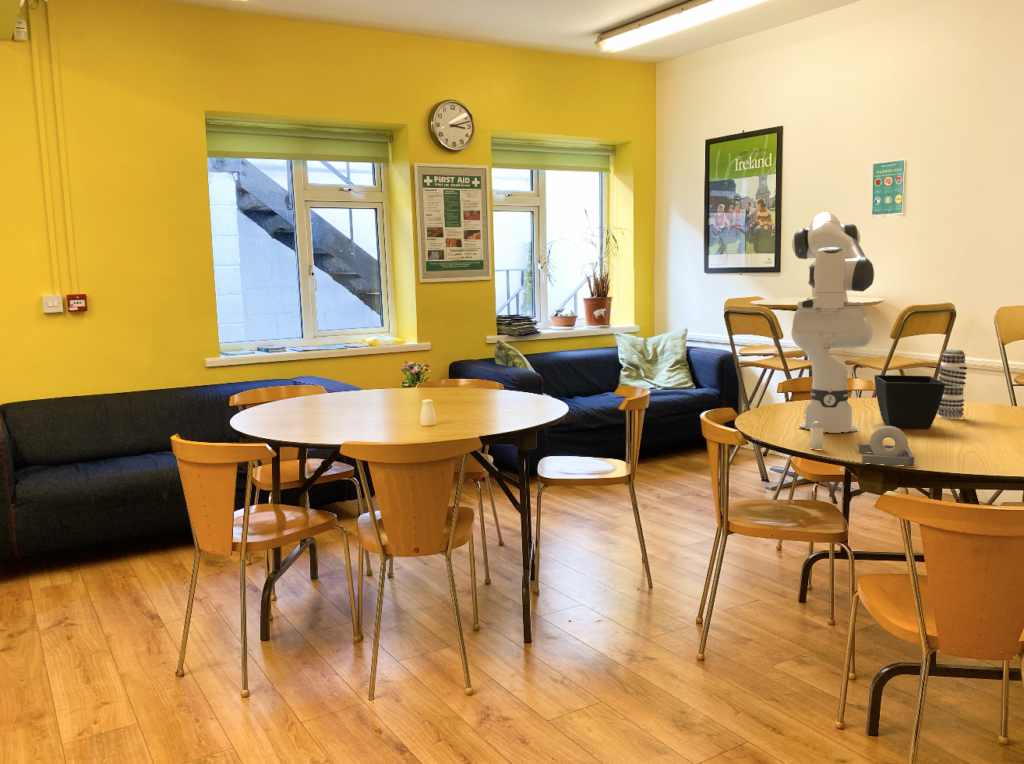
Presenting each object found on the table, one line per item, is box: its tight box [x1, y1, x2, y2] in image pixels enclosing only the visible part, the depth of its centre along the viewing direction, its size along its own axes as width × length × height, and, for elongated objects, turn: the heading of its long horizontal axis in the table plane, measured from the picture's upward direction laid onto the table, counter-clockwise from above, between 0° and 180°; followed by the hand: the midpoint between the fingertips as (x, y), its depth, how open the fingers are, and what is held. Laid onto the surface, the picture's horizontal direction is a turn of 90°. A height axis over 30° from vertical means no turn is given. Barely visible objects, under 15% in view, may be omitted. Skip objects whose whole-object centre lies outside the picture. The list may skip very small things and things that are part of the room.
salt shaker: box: [809, 421, 824, 450], centre depth 255 cm, size 4×4×9 cm
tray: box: [858, 443, 915, 466], centre depth 240 cm, size 17×13×3 cm
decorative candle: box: [937, 349, 968, 420], centre depth 306 cm, size 9×9×25 cm
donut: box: [869, 425, 909, 457], centre depth 239 cm, size 10×4×10 cm, turn 61°
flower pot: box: [874, 374, 945, 430], centre depth 291 cm, size 19×19×17 cm
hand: (827, 348), depth 250 cm, fingers closed
